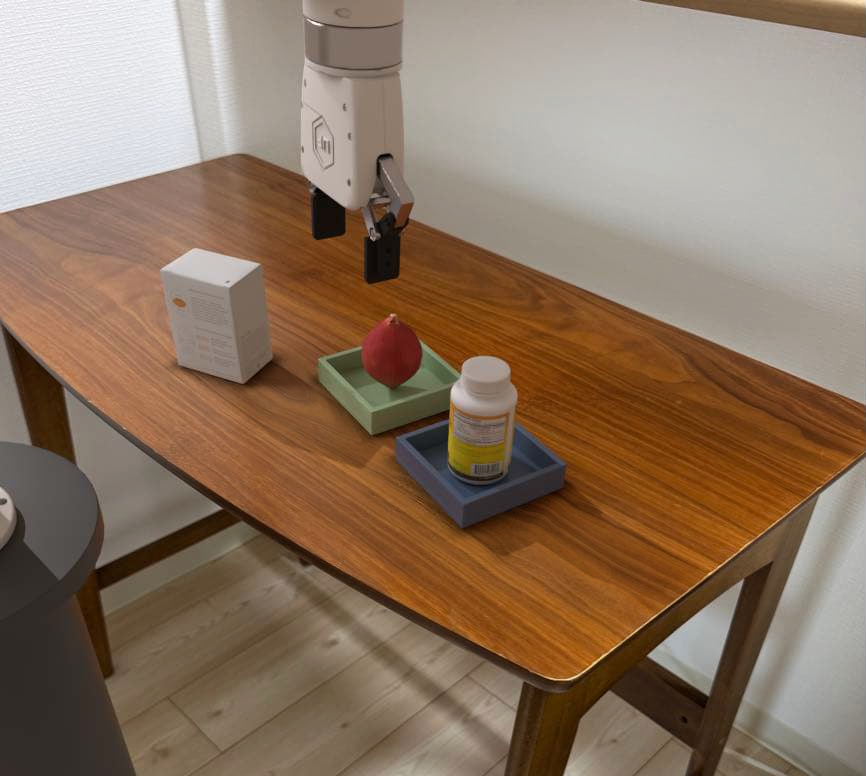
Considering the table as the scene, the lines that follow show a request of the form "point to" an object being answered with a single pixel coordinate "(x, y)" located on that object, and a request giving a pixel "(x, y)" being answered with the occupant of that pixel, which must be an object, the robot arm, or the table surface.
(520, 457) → the slate tray
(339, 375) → the green tray
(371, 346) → the onion
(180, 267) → the small box
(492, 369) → the supplement bottle
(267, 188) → the table surface
